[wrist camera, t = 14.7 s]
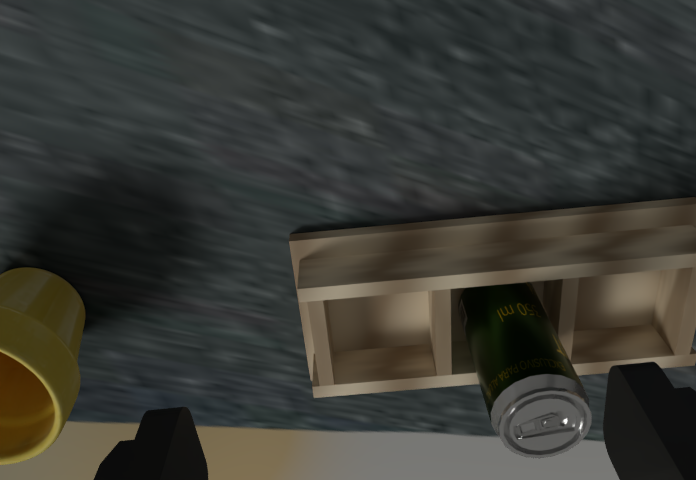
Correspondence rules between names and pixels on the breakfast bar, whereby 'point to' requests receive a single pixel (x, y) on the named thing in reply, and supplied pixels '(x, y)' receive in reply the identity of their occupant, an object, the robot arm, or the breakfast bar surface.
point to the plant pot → (37, 360)
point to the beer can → (523, 370)
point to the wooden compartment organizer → (495, 269)
